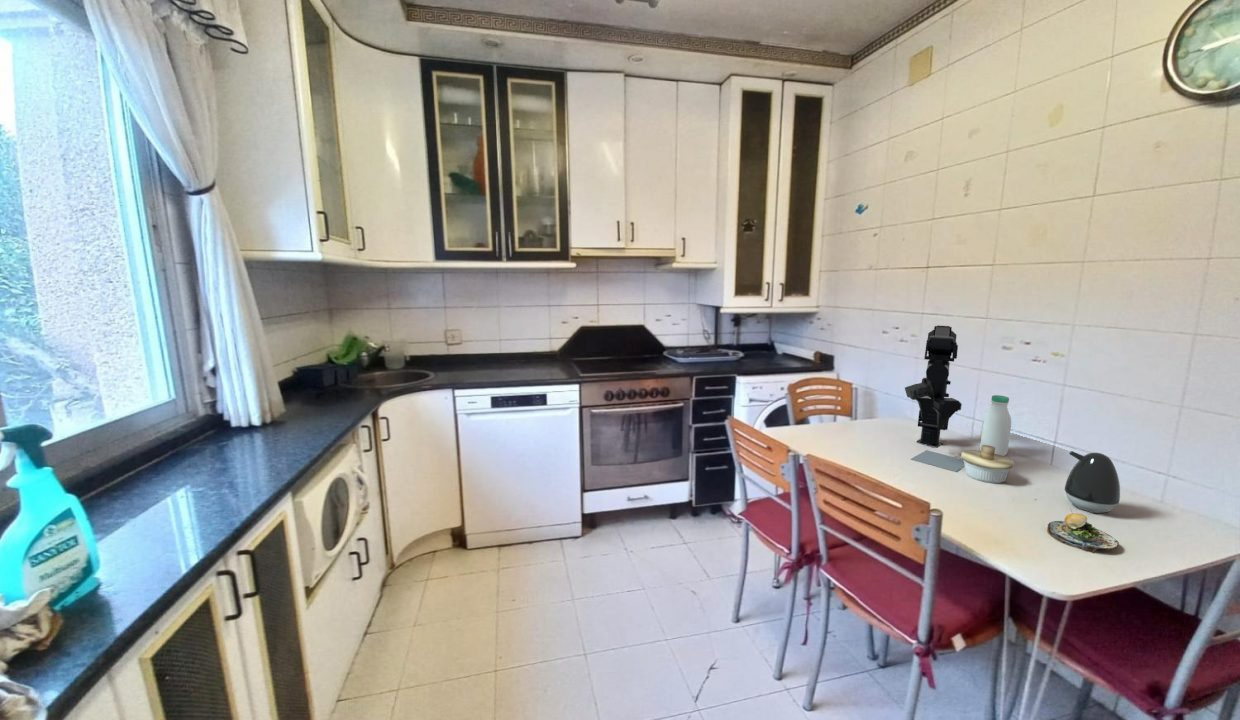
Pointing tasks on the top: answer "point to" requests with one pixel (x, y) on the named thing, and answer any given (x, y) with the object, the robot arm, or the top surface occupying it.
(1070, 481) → the pump dispenser
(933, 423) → the robot arm
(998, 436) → the milk bottle
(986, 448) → the lid
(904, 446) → the top surface
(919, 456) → the mat
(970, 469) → the ramekin
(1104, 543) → the oval plate with food
